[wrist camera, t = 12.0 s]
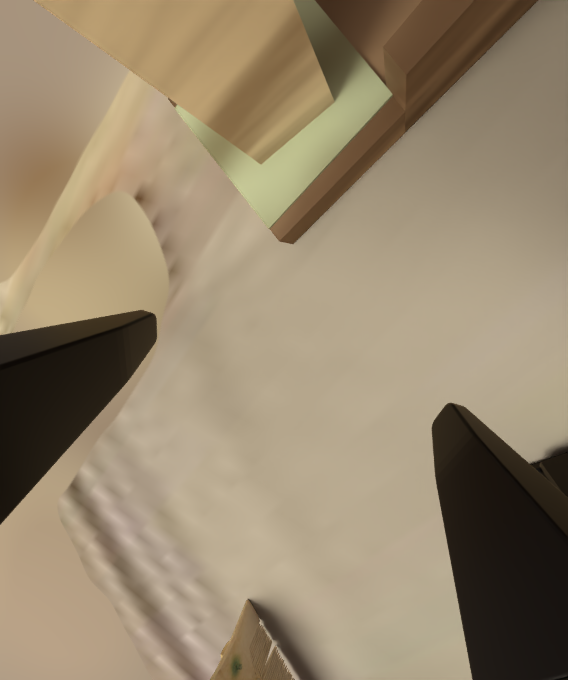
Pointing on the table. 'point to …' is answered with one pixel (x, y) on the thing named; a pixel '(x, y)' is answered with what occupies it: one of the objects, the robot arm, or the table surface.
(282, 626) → the table surface
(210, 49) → the birch block
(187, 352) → the table surface
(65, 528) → the table surface
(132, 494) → the table surface
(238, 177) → the walnut channel
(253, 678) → the comb
